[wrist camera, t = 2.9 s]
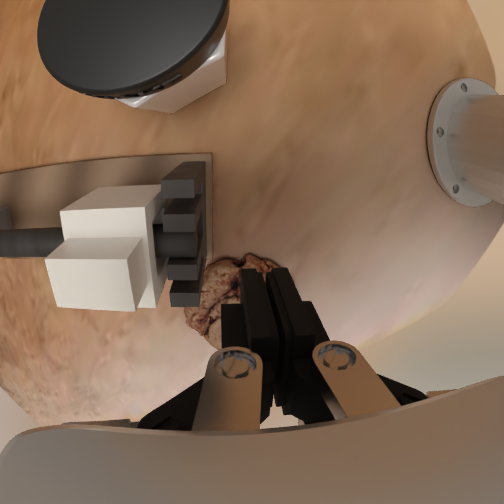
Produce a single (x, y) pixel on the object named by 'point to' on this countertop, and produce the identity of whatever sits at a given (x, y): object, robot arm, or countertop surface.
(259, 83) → the countertop surface
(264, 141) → the countertop surface
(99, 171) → the comb rig
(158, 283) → the sleeve
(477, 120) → the robot arm
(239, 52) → the countertop surface
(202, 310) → the cookie
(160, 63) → the jar
